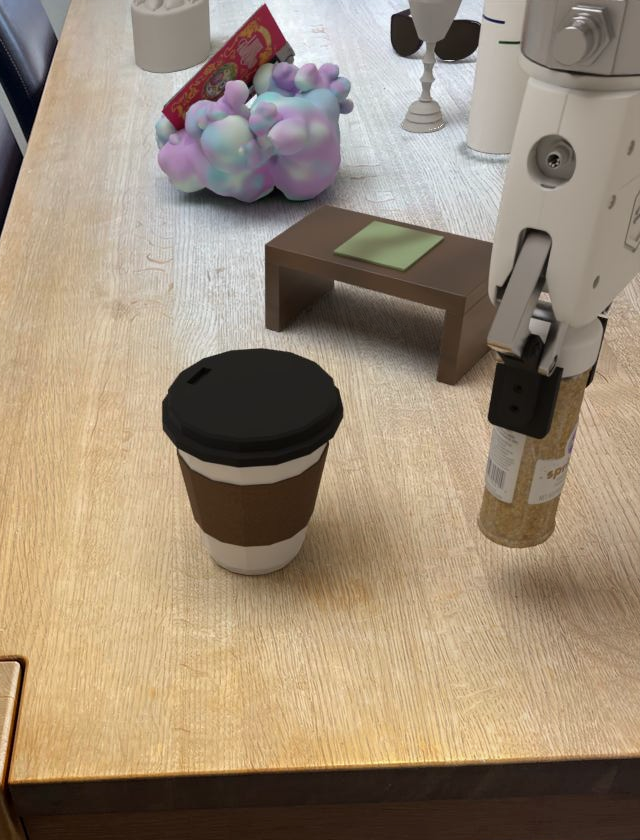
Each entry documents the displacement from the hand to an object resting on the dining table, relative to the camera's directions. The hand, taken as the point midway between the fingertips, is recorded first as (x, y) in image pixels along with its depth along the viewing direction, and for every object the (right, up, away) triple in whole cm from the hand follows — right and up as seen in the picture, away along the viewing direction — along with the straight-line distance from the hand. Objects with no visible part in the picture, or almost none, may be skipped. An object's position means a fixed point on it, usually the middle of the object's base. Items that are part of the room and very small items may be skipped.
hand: (540, 400), depth 54 cm
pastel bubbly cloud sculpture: (-11, +37, +56) cm, 68 cm away
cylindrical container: (+18, +43, +59) cm, 75 cm away
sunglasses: (+19, +69, +84) cm, 110 cm away
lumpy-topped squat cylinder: (-19, +70, +89) cm, 115 cm away
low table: (-1, +14, +32) cm, 35 cm away
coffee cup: (-14, -7, +14) cm, 21 cm away
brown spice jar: (+1, -6, +6) cm, 9 cm away
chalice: (+11, +48, +64) cm, 81 cm away
